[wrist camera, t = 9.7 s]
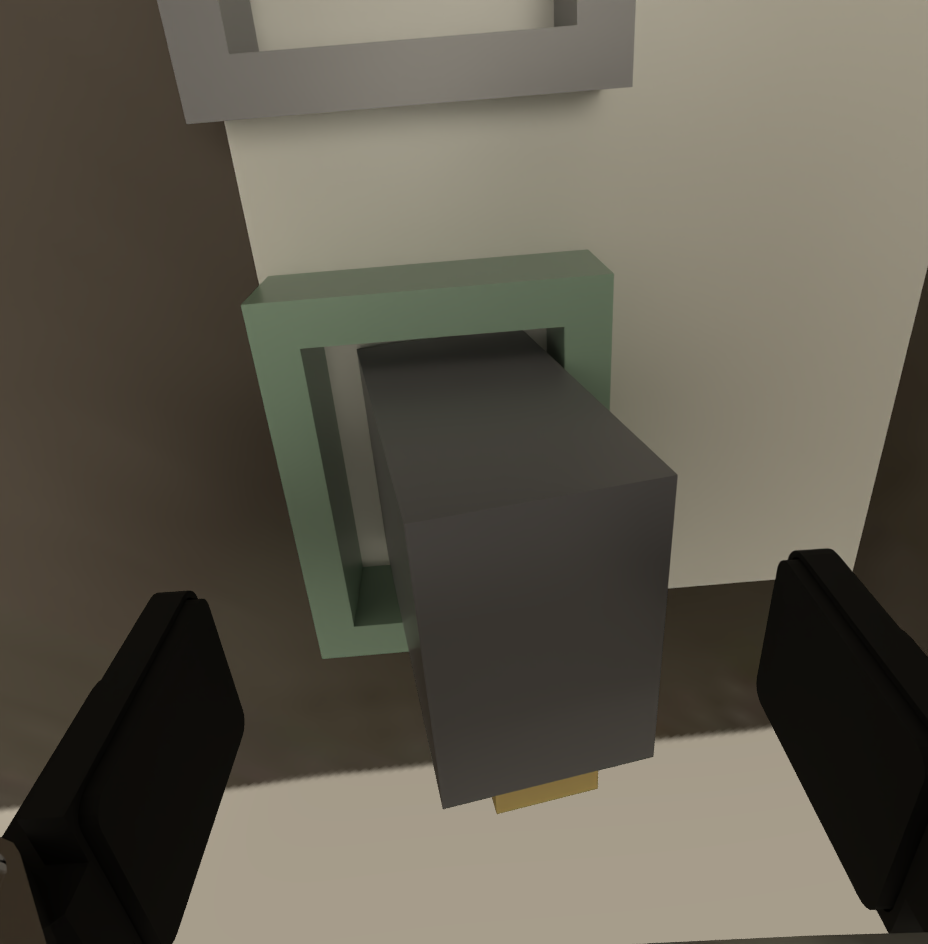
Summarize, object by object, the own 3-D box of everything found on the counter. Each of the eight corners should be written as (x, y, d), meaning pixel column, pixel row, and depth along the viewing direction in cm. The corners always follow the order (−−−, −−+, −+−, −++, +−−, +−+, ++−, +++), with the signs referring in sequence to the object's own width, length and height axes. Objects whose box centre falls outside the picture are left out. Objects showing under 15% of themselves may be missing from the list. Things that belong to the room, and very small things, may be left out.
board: (1073, -529, 11) (1330, -783, 8) (832, 550, 22) (901, 628, 19) (120, -452, 11) (-3, -674, 8) (335, 592, 22) (318, 677, 19)
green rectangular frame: (587, 249, 16) (614, 273, 14) (583, 575, 20) (602, 635, 18) (267, 275, 16) (240, 305, 14) (334, 596, 20) (322, 658, 18)
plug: (518, 326, 17) (677, 474, 10) (527, 553, 20) (650, 785, 13) (356, 348, 16) (403, 524, 9) (392, 579, 19) (447, 837, 12)
